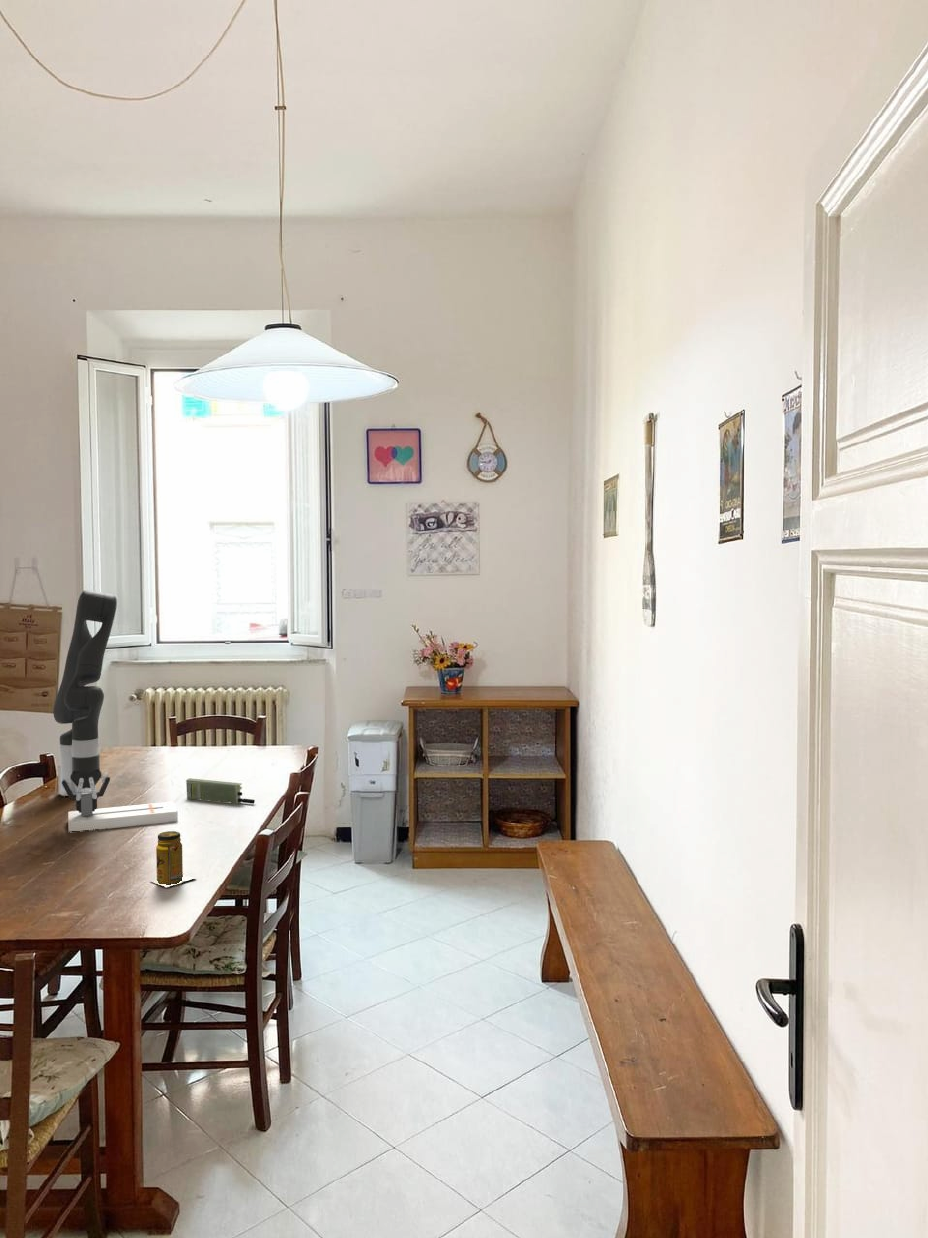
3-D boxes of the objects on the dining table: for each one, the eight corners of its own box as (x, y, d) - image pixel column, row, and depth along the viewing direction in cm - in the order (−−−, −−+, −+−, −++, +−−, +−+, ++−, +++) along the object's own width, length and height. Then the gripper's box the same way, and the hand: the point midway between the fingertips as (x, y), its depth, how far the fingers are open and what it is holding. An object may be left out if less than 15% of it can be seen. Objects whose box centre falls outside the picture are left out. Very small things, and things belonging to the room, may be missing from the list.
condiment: (149, 882, 219) (148, 834, 219) (180, 873, 226) (179, 826, 225) (166, 889, 215) (165, 840, 214) (197, 880, 221) (196, 832, 220)
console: (68, 832, 258) (68, 822, 258) (68, 821, 269) (68, 811, 269) (177, 821, 270) (177, 811, 270) (173, 810, 281) (173, 801, 281)
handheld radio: (191, 797, 299) (257, 804, 291) (185, 800, 296) (251, 807, 288) (190, 777, 298) (256, 783, 290) (184, 780, 295) (250, 786, 287)
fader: (81, 816, 263) (80, 796, 262) (81, 812, 267) (80, 791, 267) (92, 815, 264) (92, 795, 264) (92, 811, 269) (91, 790, 268)
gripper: (59, 758, 258) (60, 817, 259) (111, 754, 264) (112, 812, 265) (59, 753, 265) (60, 810, 266) (110, 749, 271) (111, 805, 272)
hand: (86, 811), depth 266 cm, fingers closed on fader, 3 cm apart
